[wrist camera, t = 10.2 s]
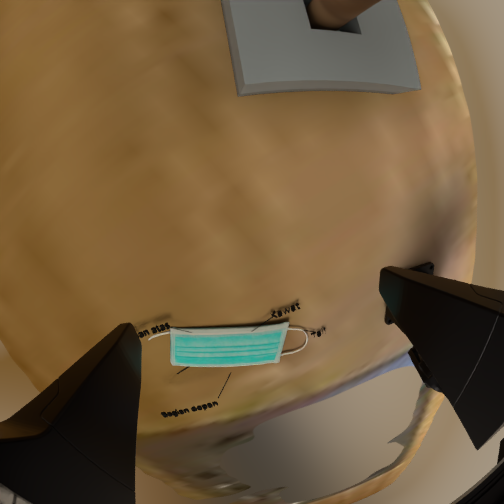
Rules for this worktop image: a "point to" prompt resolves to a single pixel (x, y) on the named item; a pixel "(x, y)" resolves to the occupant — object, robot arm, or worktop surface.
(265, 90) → the hole block
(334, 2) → the dowel
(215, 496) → the worktop surface
